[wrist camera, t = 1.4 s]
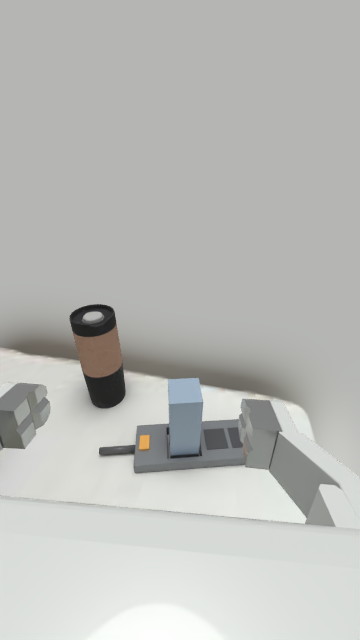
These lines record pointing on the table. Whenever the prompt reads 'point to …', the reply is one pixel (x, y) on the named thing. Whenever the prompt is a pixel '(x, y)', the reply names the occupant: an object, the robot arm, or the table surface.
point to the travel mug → (99, 353)
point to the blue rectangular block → (184, 417)
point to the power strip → (215, 451)
